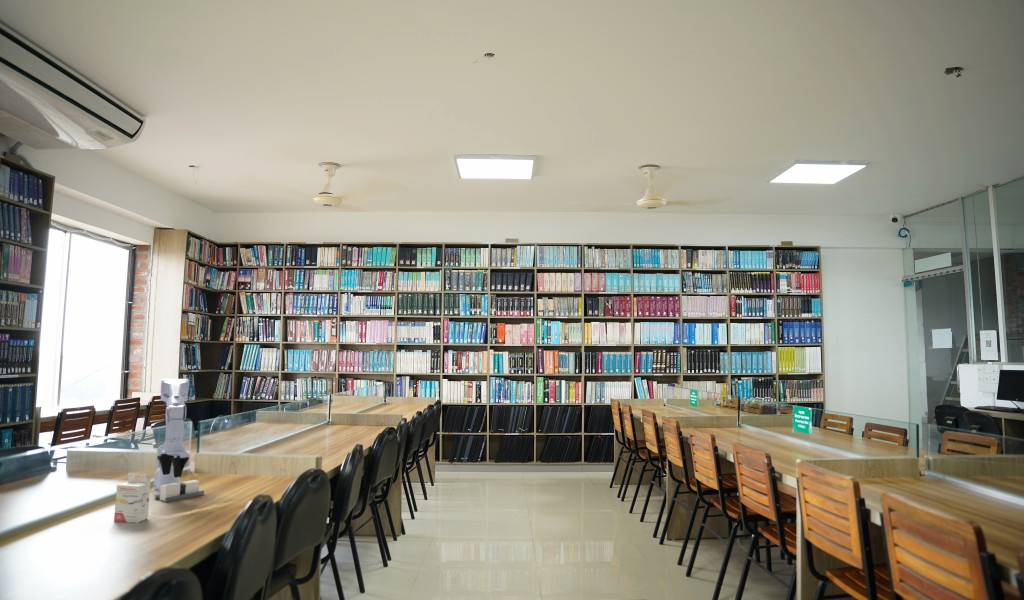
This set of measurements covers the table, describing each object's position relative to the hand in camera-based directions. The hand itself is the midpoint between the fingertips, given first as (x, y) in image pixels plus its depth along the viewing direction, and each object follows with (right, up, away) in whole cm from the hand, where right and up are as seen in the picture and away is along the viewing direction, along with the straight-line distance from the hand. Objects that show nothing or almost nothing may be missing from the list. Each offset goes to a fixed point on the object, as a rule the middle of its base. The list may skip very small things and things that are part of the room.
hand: (171, 475), depth 213 cm
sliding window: (+2, -10, +2) cm, 10 cm away
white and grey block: (+4, -9, +5) cm, 11 cm away
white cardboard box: (0, -8, -1) cm, 8 cm away
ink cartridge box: (+1, -8, -24) cm, 25 cm away
